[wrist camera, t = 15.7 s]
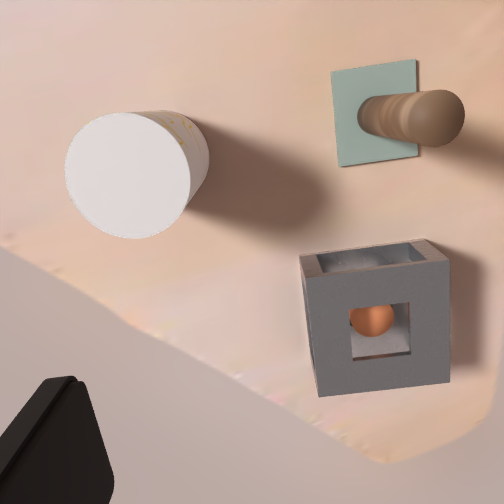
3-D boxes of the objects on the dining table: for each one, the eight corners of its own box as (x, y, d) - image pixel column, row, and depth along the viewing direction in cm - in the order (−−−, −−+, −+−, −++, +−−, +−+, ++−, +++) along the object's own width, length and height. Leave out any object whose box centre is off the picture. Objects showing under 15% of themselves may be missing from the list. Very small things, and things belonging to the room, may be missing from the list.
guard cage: (298, 255, 43) (305, 278, 37) (423, 238, 42) (449, 259, 36) (311, 361, 46) (318, 397, 41) (426, 347, 46) (450, 382, 40)
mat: (330, 72, 37) (331, 71, 37) (413, 59, 37) (415, 58, 36) (338, 166, 40) (339, 166, 39) (416, 155, 39) (417, 155, 39)
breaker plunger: (345, 292, 42) (349, 301, 40) (387, 287, 42) (393, 296, 40) (348, 328, 44) (352, 339, 42) (388, 323, 43) (395, 334, 41)
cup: (215, 119, 39) (198, 125, 27) (203, 208, 41) (182, 247, 30) (123, 102, 38) (66, 102, 27) (116, 193, 41) (62, 227, 29)
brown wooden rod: (355, 99, 38) (408, 94, 25) (392, 93, 37) (464, 85, 25) (358, 137, 38) (410, 151, 26) (395, 131, 38) (465, 142, 26)
